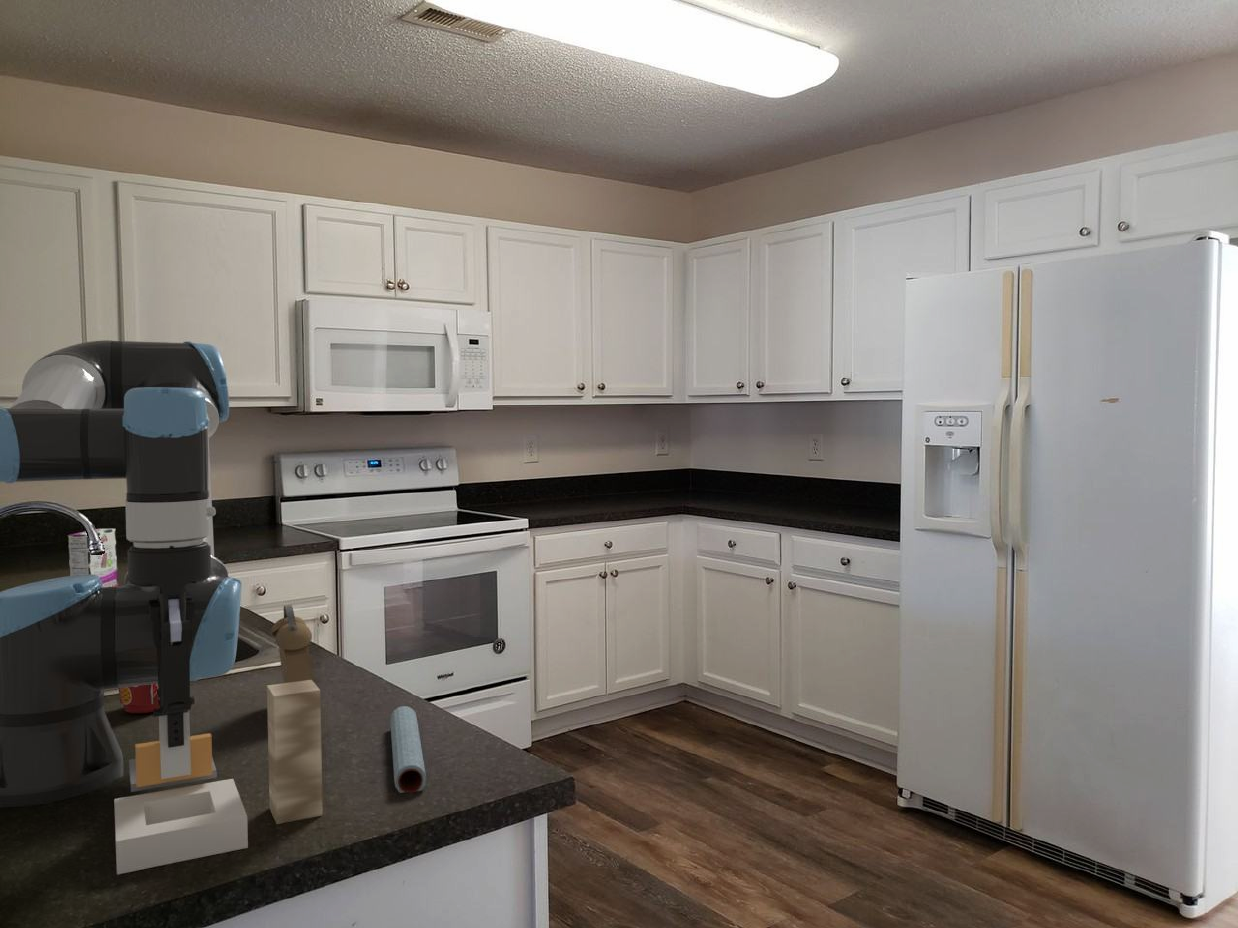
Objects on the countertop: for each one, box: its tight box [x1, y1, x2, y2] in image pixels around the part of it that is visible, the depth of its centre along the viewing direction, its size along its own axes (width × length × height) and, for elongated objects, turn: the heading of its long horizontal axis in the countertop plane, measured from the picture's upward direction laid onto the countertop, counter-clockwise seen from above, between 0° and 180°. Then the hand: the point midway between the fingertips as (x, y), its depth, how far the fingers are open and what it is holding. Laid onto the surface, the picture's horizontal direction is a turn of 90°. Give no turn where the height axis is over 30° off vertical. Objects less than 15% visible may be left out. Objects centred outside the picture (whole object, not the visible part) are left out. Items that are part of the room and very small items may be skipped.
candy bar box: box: [67, 528, 119, 587], centre depth 213 cm, size 11×5×16 cm, turn 179°
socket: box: [114, 778, 249, 875], centre depth 92 cm, size 11×11×3 cm
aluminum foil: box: [389, 705, 427, 794], centre depth 115 cm, size 23×7×3 cm, turn 15°
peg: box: [266, 680, 324, 825], centre depth 98 cm, size 4×4×13 cm
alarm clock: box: [271, 604, 314, 683], centre depth 133 cm, size 11×5×15 cm, turn 25°
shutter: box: [128, 733, 218, 793], centre depth 101 cm, size 8×9×5 cm
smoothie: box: [118, 684, 160, 714], centre depth 134 cm, size 8×8×20 cm
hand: (175, 774), depth 96 cm, fingers closed
